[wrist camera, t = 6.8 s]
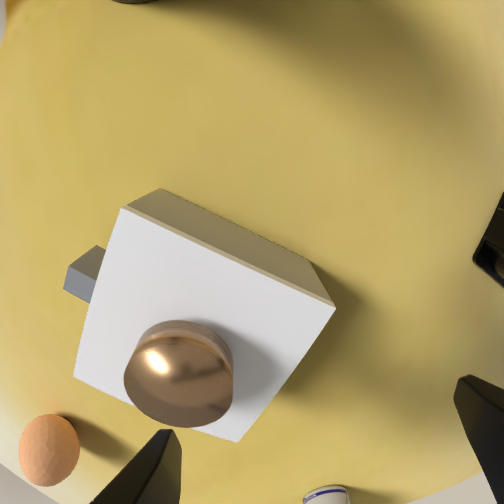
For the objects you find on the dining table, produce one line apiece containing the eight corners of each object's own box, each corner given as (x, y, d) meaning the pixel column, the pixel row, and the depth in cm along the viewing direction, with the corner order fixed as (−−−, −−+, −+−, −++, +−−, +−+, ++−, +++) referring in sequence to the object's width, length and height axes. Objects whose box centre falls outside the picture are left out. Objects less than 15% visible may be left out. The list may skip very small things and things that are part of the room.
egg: (90, 446, 26) (67, 507, 18) (43, 426, 25) (13, 481, 17) (88, 414, 24) (57, 481, 16) (36, 391, 23) (-2, 450, 15)
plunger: (256, 281, 19) (267, 370, 11) (220, 346, 21) (212, 445, 13) (177, 244, 19) (133, 314, 11) (147, 314, 20) (103, 403, 12)
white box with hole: (308, 259, 20) (336, 308, 14) (237, 375, 23) (237, 442, 16) (131, 174, 18) (81, 188, 12) (86, 307, 21) (43, 359, 14)
